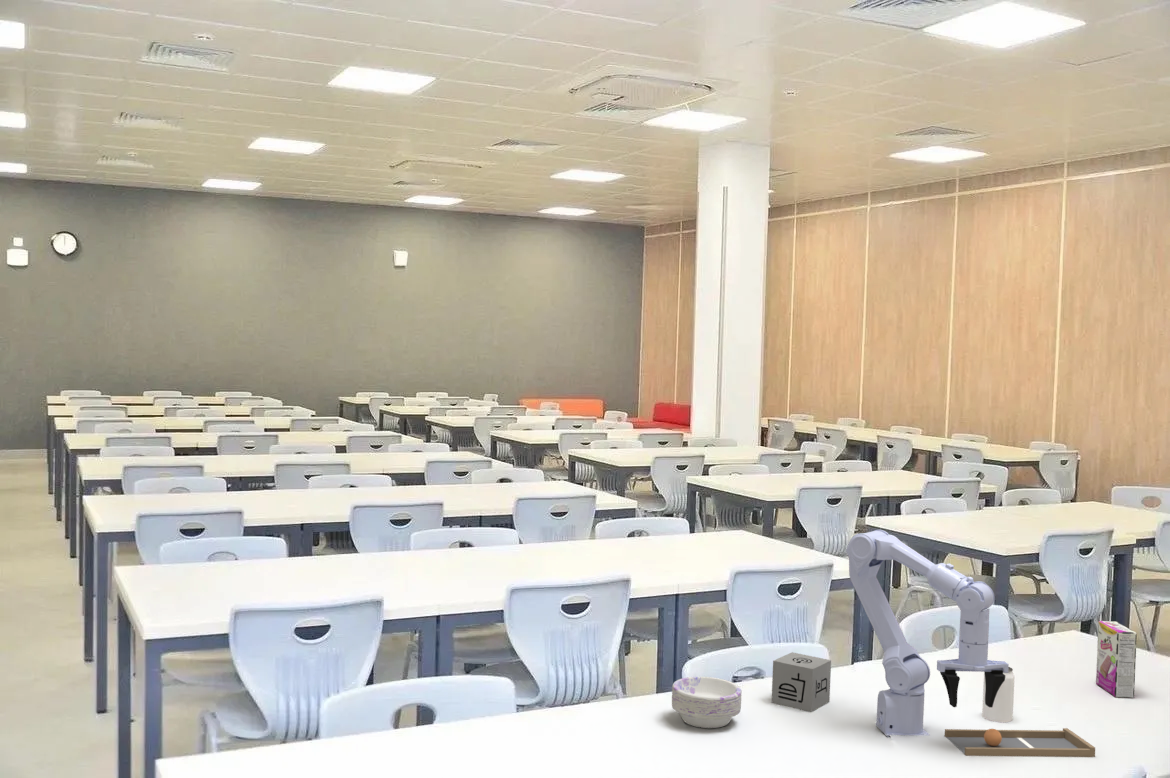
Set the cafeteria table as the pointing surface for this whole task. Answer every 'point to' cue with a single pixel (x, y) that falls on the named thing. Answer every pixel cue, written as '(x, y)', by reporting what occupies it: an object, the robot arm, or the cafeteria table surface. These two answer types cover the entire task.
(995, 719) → the can
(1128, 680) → the candy bar box
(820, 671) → the icon cube
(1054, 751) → the lane
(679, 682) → the paper bowls
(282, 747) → the cafeteria table surface
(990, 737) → the ball
